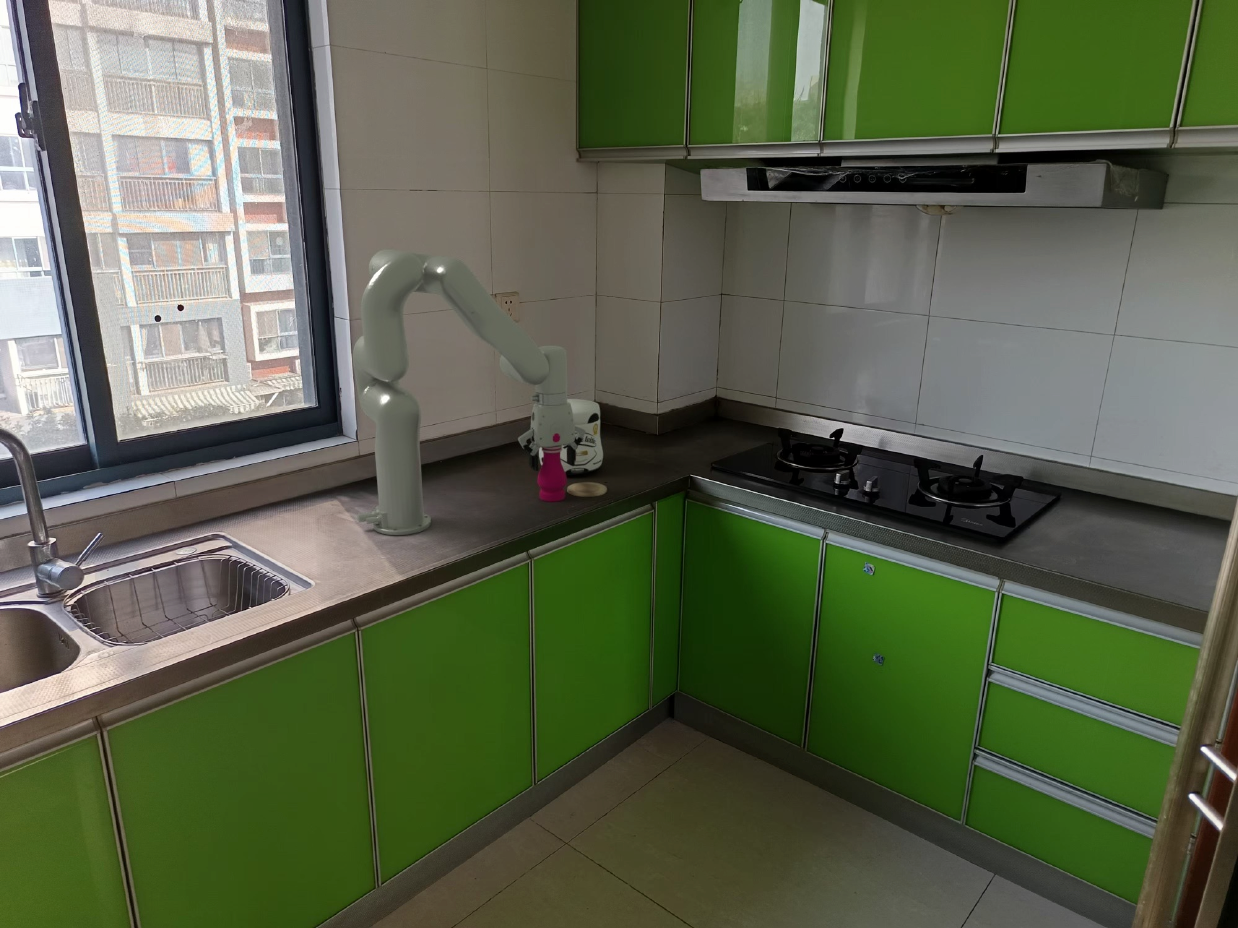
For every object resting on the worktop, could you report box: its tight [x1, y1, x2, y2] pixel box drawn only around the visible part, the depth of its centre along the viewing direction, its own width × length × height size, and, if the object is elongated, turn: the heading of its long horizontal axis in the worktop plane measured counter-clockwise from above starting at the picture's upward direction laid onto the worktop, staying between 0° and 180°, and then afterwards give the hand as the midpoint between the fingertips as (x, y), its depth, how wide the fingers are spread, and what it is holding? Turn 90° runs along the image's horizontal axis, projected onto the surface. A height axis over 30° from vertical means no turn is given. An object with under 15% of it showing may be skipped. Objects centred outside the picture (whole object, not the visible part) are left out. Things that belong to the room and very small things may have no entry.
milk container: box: [538, 398, 604, 476], centre depth 239 cm, size 17×17×18 cm
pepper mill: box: [536, 433, 568, 503], centre depth 216 cm, size 7×7×20 cm
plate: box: [566, 481, 608, 498], centre depth 224 cm, size 10×10×1 cm
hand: (552, 466), depth 217 cm, fingers open, 9 cm apart
